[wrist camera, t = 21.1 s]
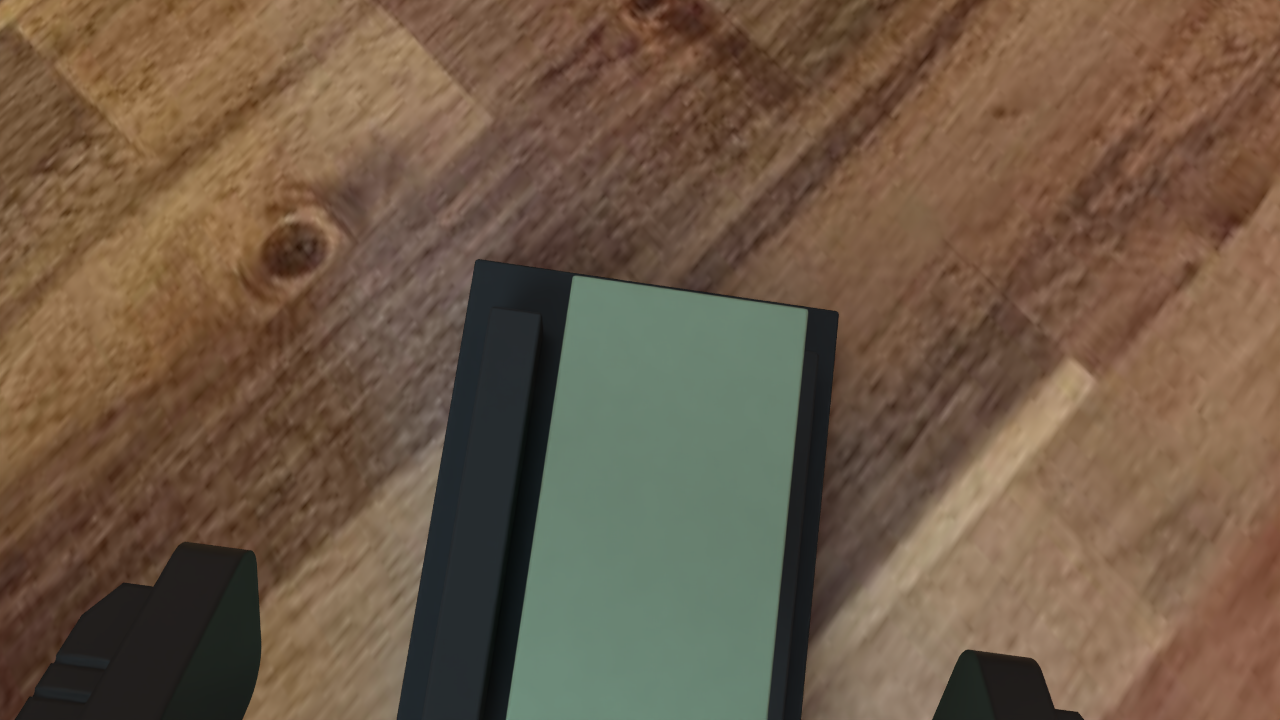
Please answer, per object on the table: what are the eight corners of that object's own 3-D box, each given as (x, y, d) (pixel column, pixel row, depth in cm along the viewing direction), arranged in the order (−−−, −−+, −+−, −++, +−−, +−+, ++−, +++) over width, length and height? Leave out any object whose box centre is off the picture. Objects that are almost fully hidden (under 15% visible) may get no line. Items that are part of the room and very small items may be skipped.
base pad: (770, 856, 26) (801, 894, 23) (391, 808, 26) (365, 839, 23) (821, 330, 29) (855, 294, 26) (481, 281, 29) (470, 237, 26)
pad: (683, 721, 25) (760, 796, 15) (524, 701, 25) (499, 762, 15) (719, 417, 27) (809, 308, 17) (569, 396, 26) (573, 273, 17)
